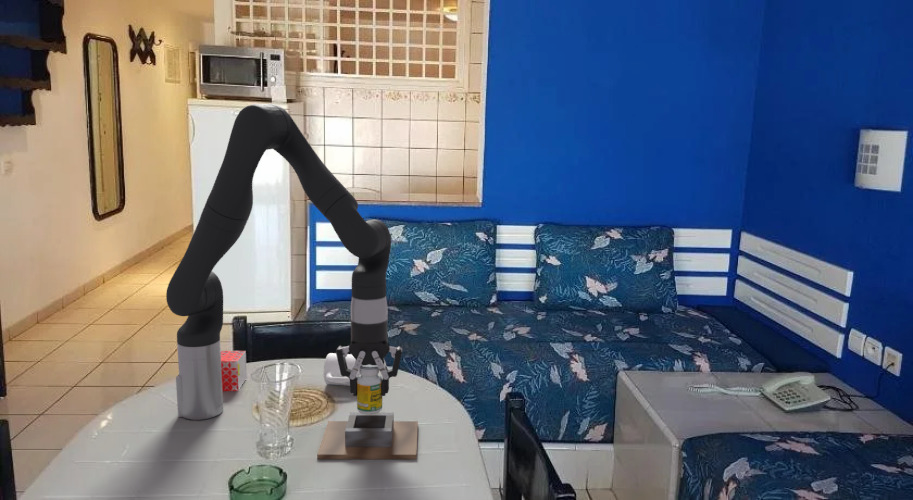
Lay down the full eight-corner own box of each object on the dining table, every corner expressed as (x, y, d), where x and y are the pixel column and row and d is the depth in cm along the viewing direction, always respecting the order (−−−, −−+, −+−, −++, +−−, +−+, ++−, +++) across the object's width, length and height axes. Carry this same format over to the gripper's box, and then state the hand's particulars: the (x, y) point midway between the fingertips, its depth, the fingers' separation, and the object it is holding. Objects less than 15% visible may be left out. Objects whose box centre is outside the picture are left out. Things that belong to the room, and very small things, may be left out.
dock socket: (317, 459, 146) (316, 438, 145) (328, 425, 162) (328, 406, 161) (416, 459, 147) (416, 438, 146) (417, 425, 162) (417, 406, 162)
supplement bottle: (368, 402, 157) (367, 360, 155) (387, 408, 154) (387, 365, 152) (351, 411, 152) (351, 367, 150) (371, 417, 149) (371, 373, 147)
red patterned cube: (238, 391, 180) (237, 361, 179) (206, 391, 180) (205, 361, 179) (246, 379, 188) (245, 350, 187) (216, 379, 188) (214, 350, 187)
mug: (333, 377, 191) (332, 348, 189) (369, 380, 190) (369, 351, 188) (318, 394, 179) (317, 364, 178) (357, 397, 178) (357, 366, 176)
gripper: (331, 322, 145) (333, 401, 148) (403, 322, 146) (403, 401, 149) (336, 312, 152) (337, 387, 156) (404, 312, 153) (404, 388, 156)
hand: (369, 394), depth 152 cm, fingers closed on supplement bottle, 5 cm apart
